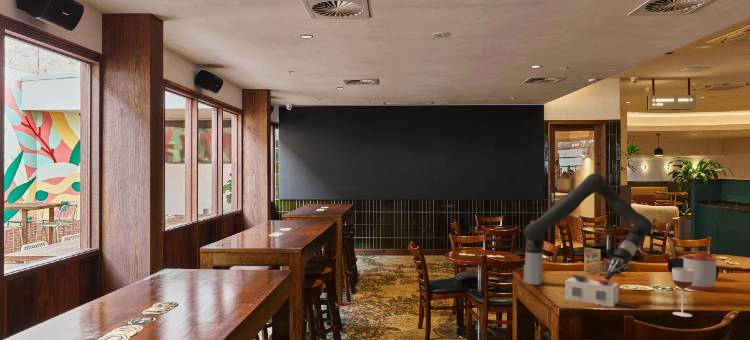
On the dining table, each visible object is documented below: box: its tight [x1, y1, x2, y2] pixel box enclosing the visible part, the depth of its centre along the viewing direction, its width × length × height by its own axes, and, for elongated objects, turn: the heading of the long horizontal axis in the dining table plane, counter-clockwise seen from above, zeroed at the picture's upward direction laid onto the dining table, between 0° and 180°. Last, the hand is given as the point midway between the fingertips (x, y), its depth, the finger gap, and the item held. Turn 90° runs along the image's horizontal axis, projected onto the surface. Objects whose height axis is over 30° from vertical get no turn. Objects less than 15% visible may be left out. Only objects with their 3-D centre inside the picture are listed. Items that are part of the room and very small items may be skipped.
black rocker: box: [572, 274, 588, 281], centre depth 255 cm, size 4×9×2 cm, turn 143°
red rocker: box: [596, 278, 611, 284], centre depth 249 cm, size 4×9×2 cm, turn 143°
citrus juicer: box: [682, 251, 718, 292], centre depth 283 cm, size 16×17×20 cm
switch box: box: [564, 276, 635, 309], centre depth 250 cm, size 30×10×9 cm, turn 53°
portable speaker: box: [667, 257, 720, 279], centre depth 316 cm, size 26×10×10 cm, turn 35°
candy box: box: [583, 247, 602, 276], centre depth 319 cm, size 9×4×15 cm, turn 59°
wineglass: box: [671, 267, 694, 318], centre depth 231 cm, size 8×9×20 cm
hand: (606, 278), depth 252 cm, fingers closed
